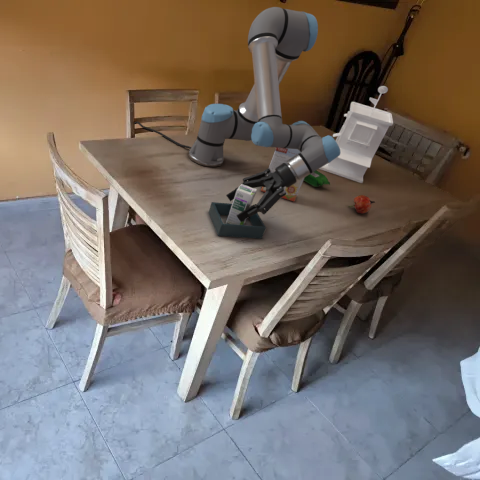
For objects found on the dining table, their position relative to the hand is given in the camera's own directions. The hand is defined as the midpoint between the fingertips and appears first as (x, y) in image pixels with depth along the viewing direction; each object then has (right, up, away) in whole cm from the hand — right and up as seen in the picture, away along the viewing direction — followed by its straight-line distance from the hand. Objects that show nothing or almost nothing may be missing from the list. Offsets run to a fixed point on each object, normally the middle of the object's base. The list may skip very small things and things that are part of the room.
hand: (233, 208), depth 143 cm
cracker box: (+23, +8, +30) cm, 39 cm away
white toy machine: (+61, +25, +66) cm, 93 cm away
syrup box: (+1, -6, +5) cm, 7 cm away
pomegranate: (+56, +1, +31) cm, 64 cm away
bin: (+1, -6, +5) cm, 7 cm away
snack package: (+41, +15, +46) cm, 63 cm away
